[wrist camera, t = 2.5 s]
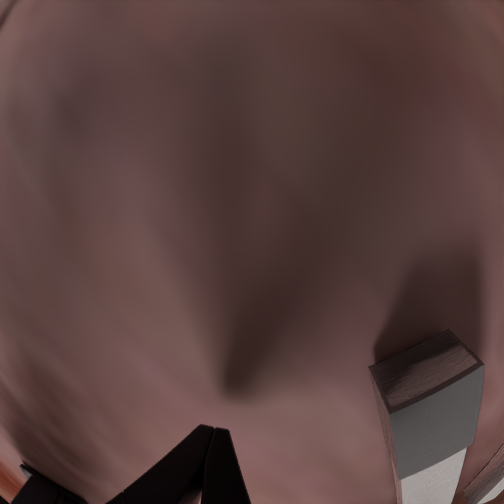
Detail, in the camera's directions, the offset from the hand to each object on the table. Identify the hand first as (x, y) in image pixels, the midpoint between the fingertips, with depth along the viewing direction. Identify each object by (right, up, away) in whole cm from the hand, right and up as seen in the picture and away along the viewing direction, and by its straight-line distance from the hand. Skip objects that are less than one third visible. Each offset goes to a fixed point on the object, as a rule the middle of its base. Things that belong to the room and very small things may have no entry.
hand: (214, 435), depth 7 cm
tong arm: (+9, -6, +1) cm, 11 cm away
